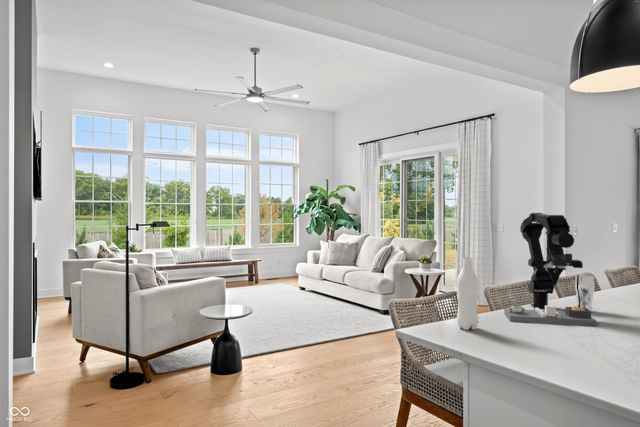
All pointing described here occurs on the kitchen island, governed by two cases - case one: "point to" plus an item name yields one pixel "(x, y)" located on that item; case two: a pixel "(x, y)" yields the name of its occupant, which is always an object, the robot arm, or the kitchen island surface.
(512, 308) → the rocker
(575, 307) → the button
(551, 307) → the cream rectangular brick
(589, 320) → the panel
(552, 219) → the robot arm
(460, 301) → the water bottle
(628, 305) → the kitchen island surface
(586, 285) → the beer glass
